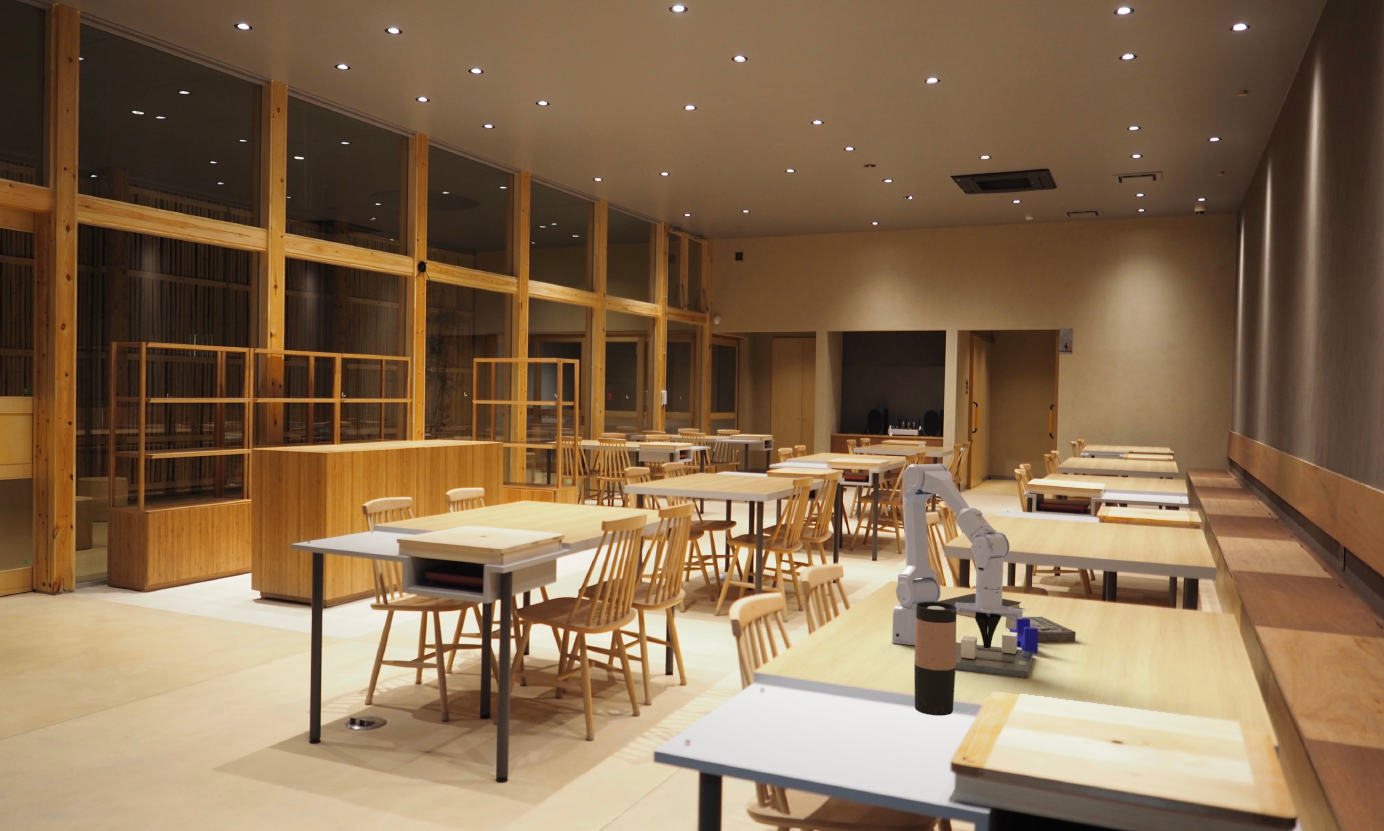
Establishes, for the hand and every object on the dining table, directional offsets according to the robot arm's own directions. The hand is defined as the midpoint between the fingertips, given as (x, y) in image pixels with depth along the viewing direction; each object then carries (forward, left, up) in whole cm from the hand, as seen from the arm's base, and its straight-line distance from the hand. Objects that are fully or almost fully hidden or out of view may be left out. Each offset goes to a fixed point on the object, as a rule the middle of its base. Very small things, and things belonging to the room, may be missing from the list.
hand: (987, 647), depth 218 cm
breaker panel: (0, +3, -4) cm, 5 cm away
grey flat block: (+9, +38, -5) cm, 39 cm away
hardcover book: (-10, +63, -5) cm, 64 cm away
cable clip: (+6, +22, -5) cm, 24 cm away
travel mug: (-6, -38, -4) cm, 38 cm away
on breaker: (+4, +9, -3) cm, 10 cm away
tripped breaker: (-4, 0, -3) cm, 5 cm away
